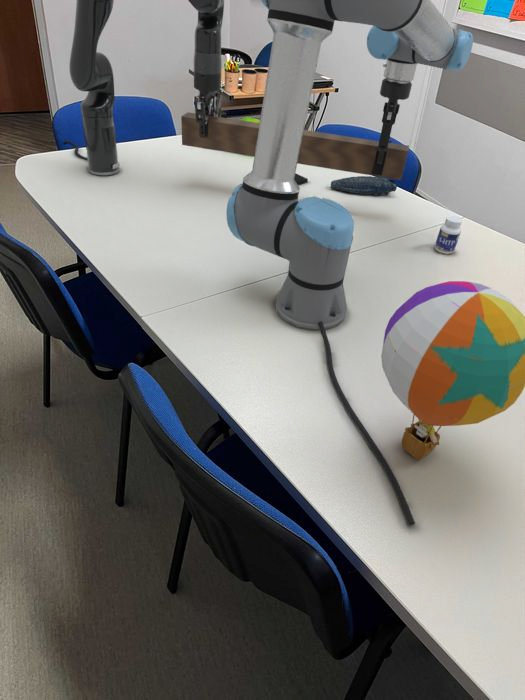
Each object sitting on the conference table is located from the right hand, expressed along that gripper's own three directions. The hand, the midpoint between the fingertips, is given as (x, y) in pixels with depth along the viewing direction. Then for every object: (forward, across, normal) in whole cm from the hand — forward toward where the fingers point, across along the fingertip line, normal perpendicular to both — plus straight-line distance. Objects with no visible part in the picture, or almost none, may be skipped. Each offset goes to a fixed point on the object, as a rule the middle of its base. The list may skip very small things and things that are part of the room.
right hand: (377, 170), depth 146 cm
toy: (+14, +89, +17) cm, 92 cm away
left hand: (-2, 0, -51) cm, 51 cm away
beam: (+1, 0, -25) cm, 25 cm away
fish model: (+13, -18, -4) cm, 23 cm away
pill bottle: (+13, +14, +22) cm, 29 cm away
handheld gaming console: (+14, -18, -29) cm, 36 cm away
